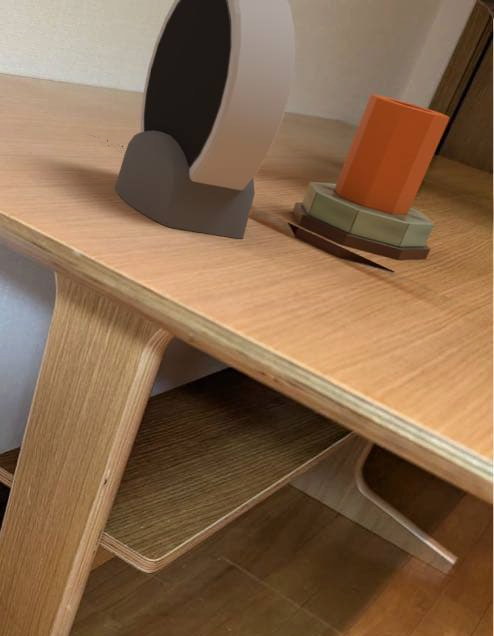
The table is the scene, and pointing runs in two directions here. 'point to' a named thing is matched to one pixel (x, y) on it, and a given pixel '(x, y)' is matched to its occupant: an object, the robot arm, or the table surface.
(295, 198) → the table surface
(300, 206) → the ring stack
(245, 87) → the alarm clock
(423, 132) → the orange octagonal prism
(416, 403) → the table surface
